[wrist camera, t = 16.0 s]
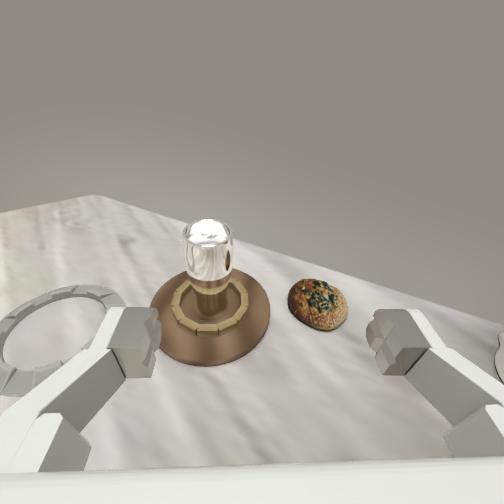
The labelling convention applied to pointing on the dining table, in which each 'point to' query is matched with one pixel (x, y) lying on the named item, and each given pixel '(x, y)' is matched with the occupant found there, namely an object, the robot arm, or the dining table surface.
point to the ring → (7, 377)
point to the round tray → (211, 321)
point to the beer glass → (209, 265)
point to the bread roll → (317, 304)
